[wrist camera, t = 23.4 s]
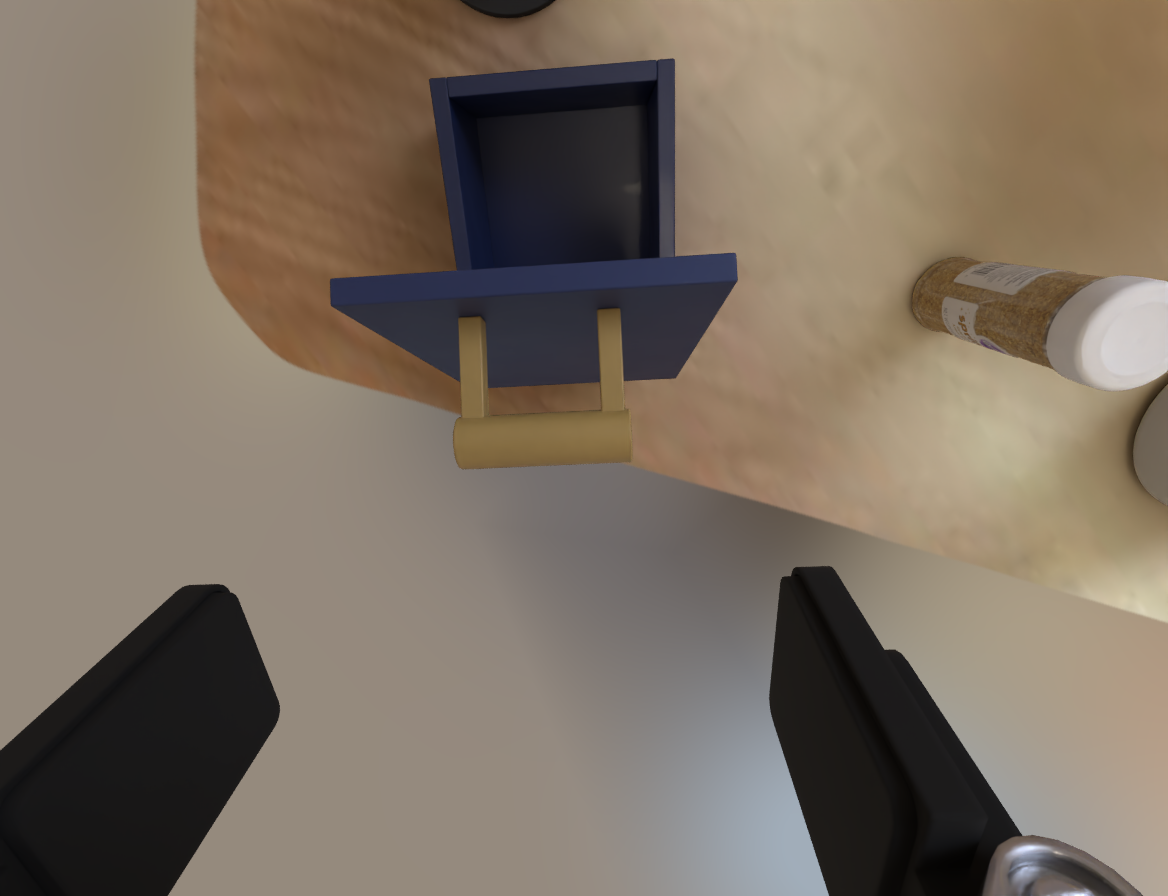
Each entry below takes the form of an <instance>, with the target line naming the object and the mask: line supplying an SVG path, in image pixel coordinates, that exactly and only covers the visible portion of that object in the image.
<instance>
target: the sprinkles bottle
mask: <svg viewBox="0 0 1168 896" xmlns="http://www.w3.org/2000/svg"><path fill="white" fill-rule="evenodd" d="M912 299H913V302H912V307H913V313H914V315H915V317H916V318H917V320H918V321H919V322H920V323H921V324H922V325H923V326H924V327H926V328H928V329H930V330H933V331H938V332H945V333H948V334H950V335H954V336H956V337H958V338H960V339H962V340H965V341H969V342H972V343H974V344H977V345H981V346H984V347H986V348H989V349H992V350H995V351H998V352H1001V353H1004V354H1007V355H1010V356H1013V357H1019V358H1022V359H1025V360H1028V361H1030V362H1033V363H1037V364H1040V365H1042V366H1046V367H1049V368H1052V369H1054V370H1055V371H1056V372H1058V373H1059V374H1060V375H1061V376H1063V377H1065V378H1067V379H1069V380H1072V381H1075V382H1077V383H1080V384H1083V385H1086V386H1089V387H1093V388H1096V389H1099V390H1104V391H1124V390H1129V389H1133V388H1137V387H1140V386H1142V385H1145V384H1147V383H1149V382H1151V381H1153V380H1155V379H1157V378H1158V377H1160V376H1161V375H1163V374H1164V373H1165V372H1167V371H1168V281H1163V280H1157V279H1151V278H1145V277H1137V276H1128V275H1121V276H1112V277H1099V276H1090V275H1083V274H1077V273H1074V272H1070V271H1064V270H1056V269H1047V268H1038V267H1030V266H1022V265H1014V264H1006V263H998V262H985V263H983V262H977V261H975V260H973V259H970V258H964V257H953V258H949V259H946V260H943V261H940V262H939V263H936V264H935V265H934V266H932V267H931V268H930V269H928V270H927V271H926V272H925V274H924V275H923V276H922V277H921V278H920V279H919V281H918V282H917V283H916V286H915V289H914V291H913V296H912Z"/></svg>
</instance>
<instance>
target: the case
mask: <svg viewBox="0 0 1168 896" xmlns="http://www.w3.org/2000/svg"><path fill="white" fill-rule="evenodd" d="M429 83H430V90H431V97H432V104H433V110H434V117H435V124H436V131H437V138H438V144H439V151H440V158H441V165H442V172H443V179H444V185H445V192H446V199H447V206H448V213H449V220H450V226H451V233H452V240H453V247H454V254H455V261H456V267H457V271H459V270H474V269H490V268H505V267H521V266H537V265H552V264H568V263H583V262H599V261H615V260H630V259H646V258H661V257H675V60H674V59H673V58H672V59H660V60H657V61H656V60H648V61H636V62H624V63H612V64H600V65H588V66H576V67H564V68H552V69H540V70H528V71H516V72H504V73H492V74H480V75H468V76H456V77H447V78H445V77H444V78H432V79H429Z"/></svg>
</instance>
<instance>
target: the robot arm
mask: <svg viewBox="0 0 1168 896" xmlns="http://www.w3.org/2000/svg"><path fill="white" fill-rule="evenodd" d="M769 696H770V697H769V700H770V710H771V715H772V719H773V722H774V726H775V728H776V732H777V735H778V738H779V741H780V744H781V747H782V750H783V754H784V757H785V760H786V763H787V766H788V769H789V772H790V775H791V778H792V781H793V785H794V788H795V790H796V794H797V797H798V800H799V803H800V806H801V810H802V813H803V816H804V819H805V822H806V825H807V828H808V831H809V834H810V837H811V841H812V844H813V847H814V850H815V853H816V856H817V859H818V862H819V866H820V869H821V872H822V875H823V878H824V881H825V884H826V887H827V890H828V893H829V896H1143V895H1142V894H1141V893H1140V892H1139V891H1138V890H1137V889H1135V888H1134V887H1133V886H1132V885H1131V884H1130V883H1129V882H1127V881H1126V880H1125V879H1124V878H1123V877H1122V876H1120V875H1119V874H1118V873H1117V872H1116V871H1115V870H1113V869H1112V868H1110V867H1109V866H1107V865H1105V864H1104V863H1102V862H1101V861H1099V860H1098V859H1096V858H1094V857H1093V856H1091V855H1090V854H1088V853H1086V852H1085V851H1082V850H1080V849H1078V848H1075V847H1073V846H1071V845H1068V844H1066V843H1064V842H1061V841H1059V840H1055V839H1050V838H1045V837H1040V836H1035V835H1030V836H1022V834H1021V833H1020V831H1019V830H1018V828H1017V827H1016V826H1015V824H1014V822H1013V821H1012V819H1011V818H1010V816H1009V814H1008V813H1007V811H1006V810H1005V808H1004V807H1003V806H1002V804H1001V802H1000V801H999V799H998V798H997V796H996V795H995V793H994V792H993V790H992V789H991V787H990V786H989V784H988V783H987V781H986V779H985V778H984V777H983V775H982V774H981V772H980V770H979V769H978V767H977V766H976V764H975V763H974V761H973V760H972V758H971V757H970V755H969V754H968V752H967V751H966V749H965V748H964V746H963V744H962V743H961V742H960V740H959V739H958V737H957V736H956V734H955V732H954V731H953V730H952V728H951V726H950V725H949V723H948V722H947V720H946V719H945V717H944V716H943V714H942V713H941V711H940V710H939V708H938V707H937V705H936V703H935V702H934V700H933V699H932V697H931V696H930V695H929V693H928V691H927V690H926V688H925V687H924V685H923V684H922V682H921V681H920V679H919V678H918V676H917V674H916V673H915V672H914V670H913V668H912V667H911V666H910V664H909V662H908V661H907V660H906V659H905V657H904V656H903V655H902V654H901V653H899V652H898V651H896V650H884V648H883V647H882V645H881V644H880V642H879V640H878V639H877V637H876V636H875V634H874V632H873V631H872V629H871V628H870V626H869V625H868V623H867V621H866V619H865V618H864V616H863V615H862V613H861V612H860V610H859V608H858V607H857V605H856V604H855V602H854V600H853V599H852V597H851V596H850V594H849V592H848V591H847V589H846V587H845V586H844V584H843V583H842V581H841V579H840V578H839V576H838V575H837V573H836V571H835V570H834V569H833V568H832V567H830V566H820V567H795V568H794V569H793V571H792V575H791V576H787V577H782V579H781V583H780V593H779V603H778V612H777V622H776V632H775V643H774V653H773V663H772V673H771V684H770V694H769ZM279 713H280V705H279V701H278V699H277V696H276V693H275V691H274V688H273V686H272V683H271V681H270V678H269V676H268V673H267V671H266V668H265V666H264V663H263V661H262V658H261V655H260V653H259V651H258V648H257V645H256V643H255V640H254V638H253V635H252V633H251V630H250V628H249V625H248V623H247V620H246V618H245V615H244V613H243V610H242V607H241V605H240V602H239V600H238V598H237V596H236V595H235V594H233V593H230V591H229V590H228V588H227V587H225V586H224V585H220V584H209V585H188V586H184V587H182V588H181V589H179V590H178V591H177V592H175V593H174V594H173V595H172V596H171V597H170V598H169V599H168V600H167V601H166V602H164V603H163V604H162V605H161V606H160V607H159V608H158V609H157V610H155V611H154V613H152V614H151V615H150V616H149V617H148V618H147V619H145V620H144V621H143V622H142V623H141V624H140V625H139V626H138V627H137V628H135V630H133V631H132V632H131V633H130V634H129V635H128V636H127V637H126V638H124V639H123V640H122V641H121V642H120V643H119V644H118V645H117V646H116V647H115V648H113V649H112V650H111V651H110V652H109V653H108V654H107V655H106V656H105V657H103V658H102V659H101V660H100V661H99V662H98V663H97V664H96V665H95V666H93V667H92V668H91V669H90V670H89V671H88V672H87V673H86V674H85V675H83V676H82V677H81V678H80V679H79V680H78V681H77V682H76V683H75V684H74V685H72V686H71V687H70V688H69V689H68V690H67V691H66V692H65V693H64V694H63V695H61V696H60V697H59V698H58V699H57V700H56V701H55V702H54V703H52V704H51V705H50V706H49V707H48V708H47V709H46V710H45V711H44V712H42V713H41V714H40V715H39V716H38V717H37V718H36V719H35V720H34V721H33V722H31V723H30V724H29V725H28V726H27V727H26V728H25V729H24V730H23V731H21V732H20V733H19V734H18V735H17V736H16V737H15V738H14V739H13V740H12V741H10V742H9V743H8V744H7V745H6V746H5V747H4V748H3V749H2V750H0V896H168V894H169V893H170V891H171V890H172V888H173V886H174V885H175V883H176V882H177V880H178V879H179V877H180V875H181V874H182V872H183V871H184V869H185V868H186V866H187V865H188V863H189V861H190V860H191V858H192V857H193V855H194V853H195V852H196V850H197V849H198V847H199V846H200V844H201V842H202V841H203V839H204V838H205V836H206V835H207V833H208V831H209V830H210V828H211V827H212V825H213V824H214V822H215V820H216V818H217V817H218V816H219V814H220V812H221V811H222V809H223V808H224V806H225V805H226V803H227V801H228V800H229V798H230V796H231V795H232V794H233V792H234V790H235V789H236V787H237V786H238V784H239V782H240V781H241V779H242V778H243V776H244V775H245V773H246V771H247V770H248V768H249V767H250V765H251V763H252V762H253V760H254V759H255V757H256V756H257V754H258V752H259V751H260V749H261V747H262V746H263V745H264V743H265V741H266V740H267V738H268V737H269V735H270V734H271V732H272V730H273V729H274V727H275V725H276V723H277V721H278V718H279Z"/></svg>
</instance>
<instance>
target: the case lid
mask: <svg viewBox="0 0 1168 896" xmlns="http://www.w3.org/2000/svg"><path fill="white" fill-rule="evenodd" d="M737 280H738V277H737V260H736V254H735V253H724V254H708V255H693V256H677V257H661V258H646V259H630V260H615V261H599V262H583V263H568V264H552V265H537V266H521V267H505V268H490V269H474V270H459V271H443V272H427V273H412V274H396V275H381V276H365V277H349V278H334V279H331V280H330V297H331V306H332V307H333V308H335V309H337V310H339V311H340V312H342V313H344V314H345V315H347V316H349V317H350V318H352V319H354V320H356V321H357V322H359V323H361V324H362V325H364V326H366V327H367V328H369V329H371V330H373V331H374V332H376V333H378V334H379V335H381V336H383V337H384V338H386V339H388V340H390V341H391V342H393V343H395V344H396V345H398V346H400V347H401V348H403V349H405V350H406V351H408V352H410V353H412V354H413V355H415V356H417V357H418V358H420V359H422V360H423V361H425V362H427V363H429V364H430V365H432V366H434V367H435V368H437V369H439V370H440V371H442V372H444V373H446V374H447V375H449V376H451V377H452V378H454V379H456V380H457V381H459V382H460V387H461V417H459V418H458V419H457V420H456V422H455V426H454V431H453V447H454V454H455V459H456V462H457V464H458V466H459V468H461V469H484V468H507V467H527V466H528V467H529V466H552V465H572V464H574V465H575V464H598V463H620V462H631V461H632V429H631V414H630V410H629V409H625V398H624V381H632V380H651V379H671V378H676V377H677V375H678V374H679V372H680V371H681V369H682V367H683V366H684V364H685V363H686V361H687V360H688V358H689V356H690V355H691V353H692V352H693V350H694V349H695V347H696V345H697V344H698V342H699V341H700V339H701V338H702V336H703V334H704V333H705V331H706V330H707V328H708V326H709V325H710V323H711V322H712V320H713V319H714V317H715V315H716V314H717V312H718V311H719V309H720V308H721V306H722V304H723V303H724V301H725V300H726V298H727V296H728V295H729V293H730V292H731V290H732V289H733V287H734V285H735V284H736V282H737ZM594 382H600V392H601V410H591V411H571V412H551V413H530V414H510V415H490V416H489V403H488V388H498V387H517V386H536V385H555V384H575V383H594Z"/></svg>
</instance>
